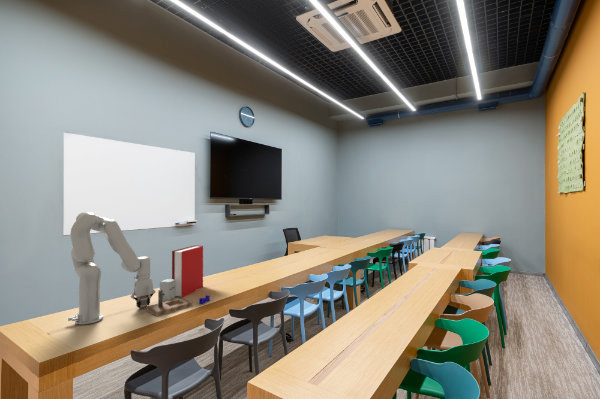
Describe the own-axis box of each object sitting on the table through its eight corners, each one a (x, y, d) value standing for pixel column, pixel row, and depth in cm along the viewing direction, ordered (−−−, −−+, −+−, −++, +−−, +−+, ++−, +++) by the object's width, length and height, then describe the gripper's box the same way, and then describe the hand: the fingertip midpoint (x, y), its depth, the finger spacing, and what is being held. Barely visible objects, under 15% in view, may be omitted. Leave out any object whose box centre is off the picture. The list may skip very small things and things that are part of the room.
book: (181, 297, 206) (182, 251, 206) (171, 296, 208) (172, 250, 208) (204, 286, 233) (204, 245, 233) (194, 285, 235) (195, 245, 235)
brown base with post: (156, 316, 173) (157, 294, 173) (147, 310, 183) (147, 289, 183) (192, 306, 190) (192, 286, 190) (181, 301, 199) (181, 282, 199)
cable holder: (205, 300, 201) (205, 294, 201) (209, 301, 200) (209, 295, 200) (197, 304, 193) (197, 298, 193) (201, 305, 192) (201, 299, 192)
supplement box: (169, 301, 200) (169, 282, 200) (159, 300, 201) (159, 281, 201) (175, 297, 207) (175, 279, 207) (166, 296, 208) (166, 278, 208)
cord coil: (140, 309, 183) (140, 296, 183) (137, 308, 186) (137, 295, 186) (148, 307, 187) (148, 295, 187) (145, 306, 190) (145, 293, 190)
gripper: (130, 280, 178) (130, 311, 178) (159, 275, 190) (159, 303, 190) (126, 278, 183) (126, 308, 183) (154, 273, 195) (154, 301, 195)
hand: (143, 305), depth 187 cm, fingers closed on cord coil, 4 cm apart
